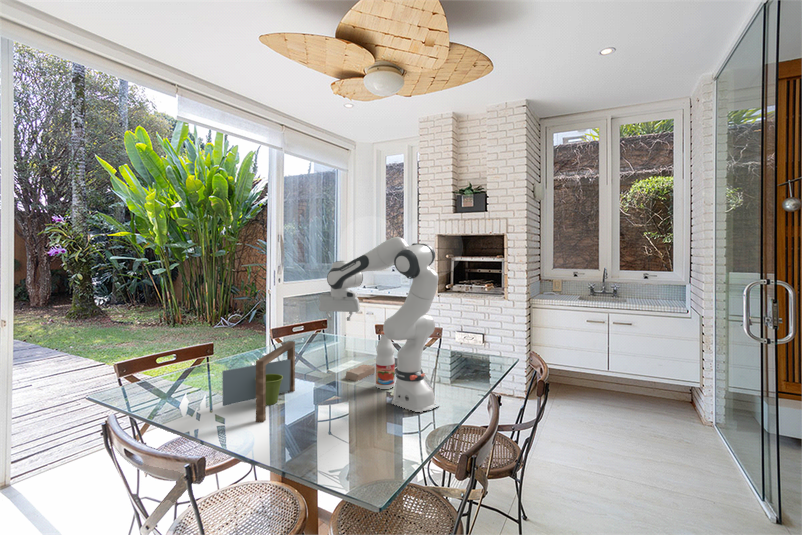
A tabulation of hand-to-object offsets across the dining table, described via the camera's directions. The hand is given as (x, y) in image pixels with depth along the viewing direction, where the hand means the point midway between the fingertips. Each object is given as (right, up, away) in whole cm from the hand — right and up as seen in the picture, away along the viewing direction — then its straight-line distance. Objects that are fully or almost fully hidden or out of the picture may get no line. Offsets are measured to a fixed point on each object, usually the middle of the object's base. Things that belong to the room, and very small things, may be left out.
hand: (339, 320), depth 194 cm
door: (-34, -32, -19) cm, 51 cm away
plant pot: (-28, -34, -23) cm, 49 cm away
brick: (+9, -33, +17) cm, 38 cm away
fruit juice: (+23, -34, -1) cm, 41 cm away
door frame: (-23, -34, -25) cm, 48 cm away
